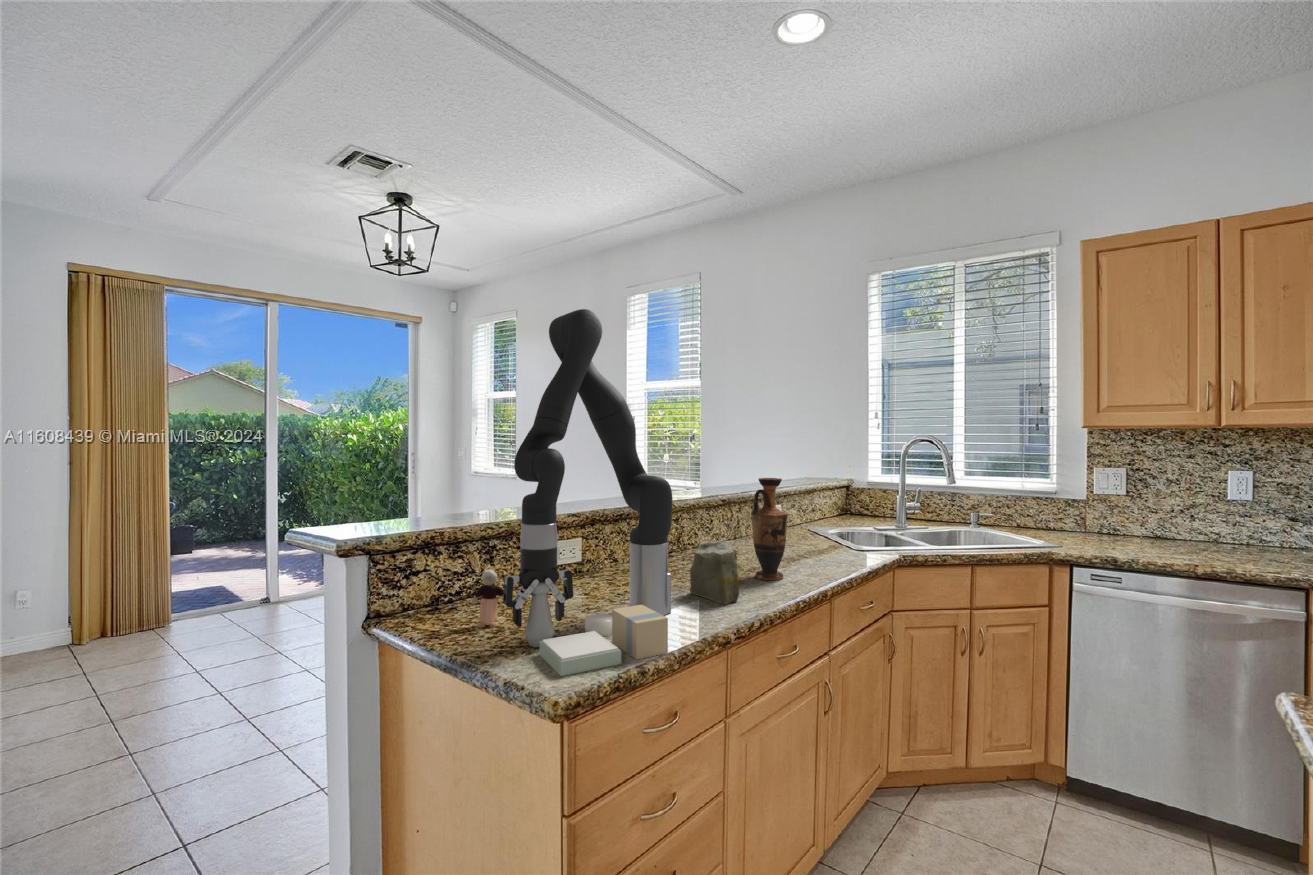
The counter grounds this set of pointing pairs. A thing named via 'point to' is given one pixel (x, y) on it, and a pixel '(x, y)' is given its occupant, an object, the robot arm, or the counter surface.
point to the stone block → (715, 572)
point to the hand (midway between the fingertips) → (538, 623)
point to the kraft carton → (640, 631)
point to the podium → (579, 653)
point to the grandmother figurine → (488, 599)
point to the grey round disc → (599, 624)
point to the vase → (769, 531)
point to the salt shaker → (539, 617)
